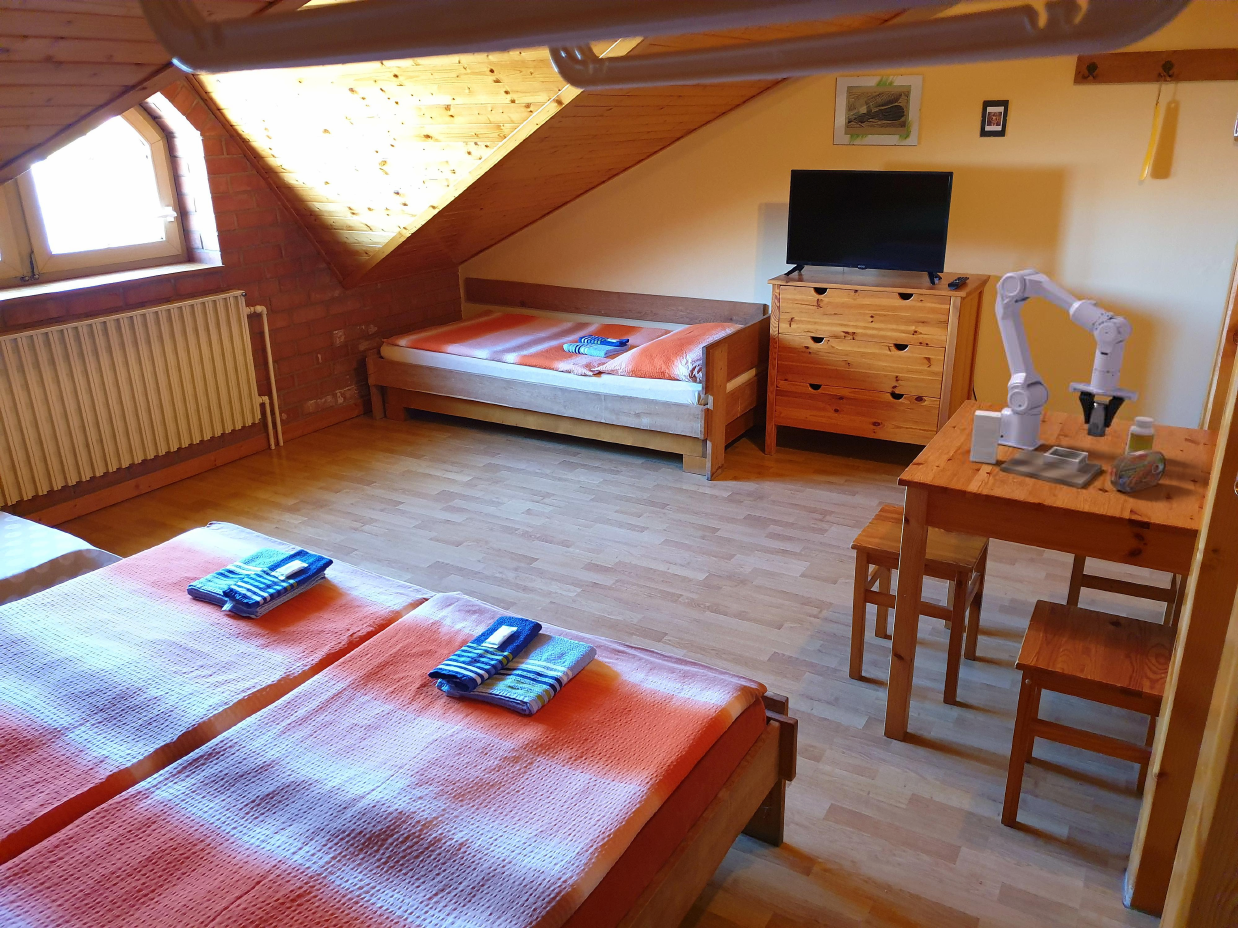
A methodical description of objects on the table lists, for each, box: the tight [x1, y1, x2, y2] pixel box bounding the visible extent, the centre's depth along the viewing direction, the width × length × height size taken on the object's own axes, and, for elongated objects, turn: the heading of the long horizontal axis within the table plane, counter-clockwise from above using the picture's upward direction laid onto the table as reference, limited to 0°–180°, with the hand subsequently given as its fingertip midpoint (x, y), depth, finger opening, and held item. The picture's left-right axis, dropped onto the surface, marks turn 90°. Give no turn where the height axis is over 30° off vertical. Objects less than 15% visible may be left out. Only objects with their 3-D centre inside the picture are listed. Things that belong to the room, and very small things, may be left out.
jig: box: [999, 446, 1103, 489], centre depth 216 cm, size 18×16×4 cm
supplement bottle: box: [1124, 416, 1156, 455], centre depth 223 cm, size 5×5×10 cm
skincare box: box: [969, 409, 1002, 465], centre depth 222 cm, size 6×4×12 cm
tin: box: [1109, 449, 1167, 493], centre depth 204 cm, size 15×3×8 cm, turn 114°
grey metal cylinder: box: [1086, 399, 1109, 438], centre depth 218 cm, size 4×4×8 cm
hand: (1097, 425), depth 218 cm, fingers closed on grey metal cylinder, 4 cm apart
